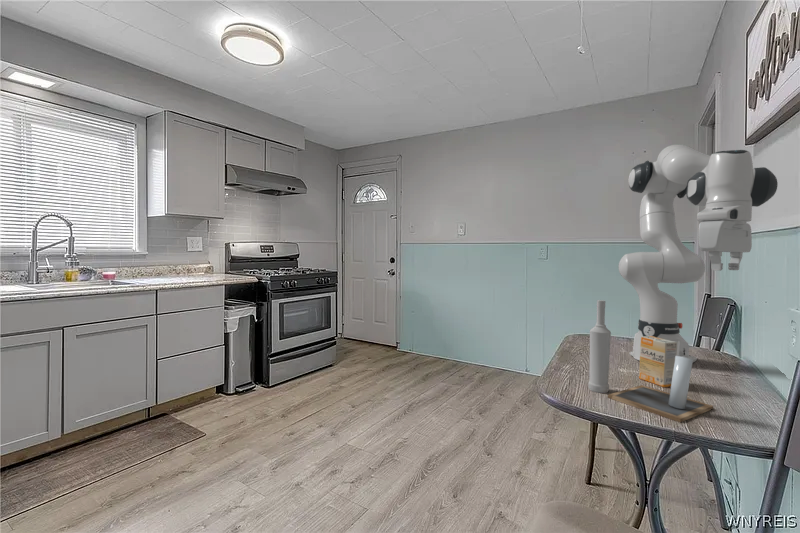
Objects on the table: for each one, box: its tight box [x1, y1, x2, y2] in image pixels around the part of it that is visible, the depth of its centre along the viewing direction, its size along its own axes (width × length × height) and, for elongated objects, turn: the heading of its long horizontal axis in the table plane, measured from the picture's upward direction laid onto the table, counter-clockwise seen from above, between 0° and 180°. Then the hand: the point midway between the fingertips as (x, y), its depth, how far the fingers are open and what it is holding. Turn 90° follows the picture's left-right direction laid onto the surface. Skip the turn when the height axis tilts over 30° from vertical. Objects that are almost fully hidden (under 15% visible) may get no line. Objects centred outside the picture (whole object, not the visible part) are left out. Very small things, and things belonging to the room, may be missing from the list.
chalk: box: [668, 356, 694, 409], centre depth 94 cm, size 3×3×12 cm
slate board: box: [607, 384, 714, 423], centre depth 99 cm, size 16×17×1 cm
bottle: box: [587, 299, 612, 394], centre depth 107 cm, size 5×5×25 cm
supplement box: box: [638, 336, 677, 388], centre depth 115 cm, size 8×5×13 cm, turn 18°
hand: (725, 270), depth 97 cm, fingers open, 8 cm apart
